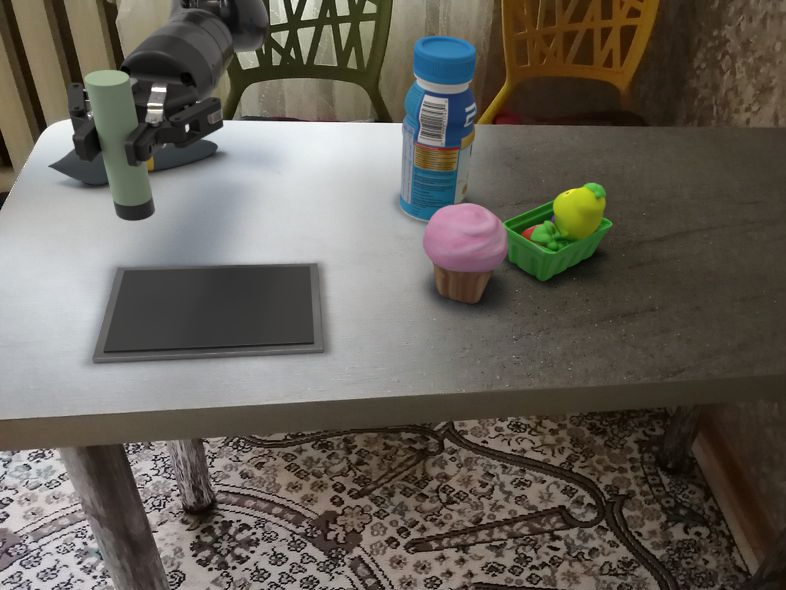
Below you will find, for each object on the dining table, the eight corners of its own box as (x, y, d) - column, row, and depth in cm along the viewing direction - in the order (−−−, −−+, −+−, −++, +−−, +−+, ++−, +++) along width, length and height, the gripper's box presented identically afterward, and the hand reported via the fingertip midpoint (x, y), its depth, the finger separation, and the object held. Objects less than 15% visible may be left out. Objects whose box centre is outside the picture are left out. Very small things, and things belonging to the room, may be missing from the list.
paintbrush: (204, 144, 99) (199, 107, 96) (223, 158, 97) (219, 122, 94) (50, 184, 88) (38, 145, 85) (68, 202, 86) (56, 162, 82)
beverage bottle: (384, 202, 93) (390, 37, 80) (438, 186, 97) (452, 27, 84) (424, 234, 88) (438, 65, 75) (479, 216, 92) (500, 53, 79)
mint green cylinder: (113, 221, 64) (80, 85, 57) (119, 202, 67) (88, 69, 59) (152, 221, 65) (126, 86, 57) (157, 202, 67) (131, 70, 60)
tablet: (94, 367, 66) (91, 357, 65) (119, 275, 76) (116, 265, 76) (323, 356, 70) (323, 347, 69) (317, 270, 80) (317, 261, 80)
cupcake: (493, 323, 77) (506, 241, 70) (411, 308, 77) (416, 225, 71) (504, 275, 83) (517, 196, 77) (429, 261, 84) (435, 182, 77)
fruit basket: (556, 230, 92) (575, 145, 84) (613, 264, 87) (638, 177, 80) (493, 261, 85) (506, 172, 78) (551, 299, 81) (571, 208, 73)
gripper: (91, 25, 69) (1, 98, 56) (244, 41, 70) (190, 117, 57) (108, 103, 74) (28, 187, 61) (251, 117, 75) (202, 203, 62)
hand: (107, 153), depth 59 cm, fingers closed on mint green cylinder, 3 cm apart
